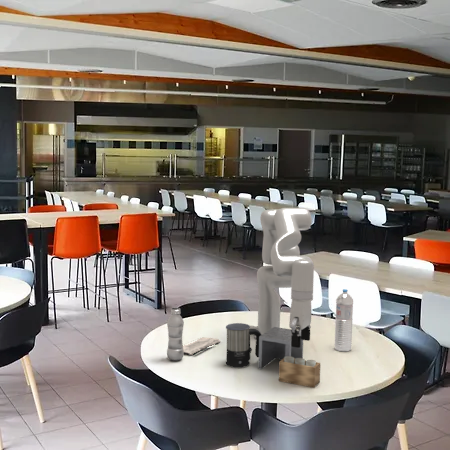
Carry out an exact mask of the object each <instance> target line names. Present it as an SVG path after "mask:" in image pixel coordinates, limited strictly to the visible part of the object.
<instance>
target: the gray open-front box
mask: <svg viewBox="0 0 450 450" xmlns="http://www.w3.org/2000/svg"><path fill="white" fill-rule="evenodd" d="M297 331H298V330H297ZM300 336H301V333H300ZM286 356H291V357H294V359H296V358H303V359H304V340H301V347H300V348H297V347H292V346H291V328H285V327H284V328H283V327H280V328H278V327H274V328H272V329H270V330H269V331H267V332H266V333H264V334H262V335H261V336H259V357H258V366H257V368H258V369H259V370H262V369H263V368H265V367H267V366H268V365H269V364H270V363H272V362H273V361H275V360H280V361H281V360H282V359H284V357H286Z"/></svg>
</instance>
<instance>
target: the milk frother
mask: <svg viewBox="0 0 450 450" xmlns="http://www.w3.org/2000/svg"><path fill="white" fill-rule="evenodd" d="M250 326H251V325H250V324H247V323H242V322H241V323H240V322H237V323H233V322H232V323H228V324H226V326H225V329H226V361H225V366H227V367H231V368H235V369H236V368H238V369H239V368H241V369H242V368H245V367H249V366H250V364H251V362H250V361H251V353H252V351H253V349H252V347H251V336H254V335H255V336H256V339H255V352H254V353H255V356H256V358H259V336H261V333H260V332H259V331H258V330H257V329H250Z"/></svg>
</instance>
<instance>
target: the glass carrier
mask: <svg viewBox="0 0 450 450" xmlns="http://www.w3.org/2000/svg"><path fill="white" fill-rule="evenodd" d="M278 364H279V366H278V382H281V383H286V384H293V385H297V386H303V387H309V388H314V389H315V388H316V386H318V385H319V383H321V362H318V361H317V362H316V360H313V359H306V360H305V358H304V357H303V358H296V359H294V357H291V356H286V357H284V359H282V360H280V361H279V362H278Z"/></svg>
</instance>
